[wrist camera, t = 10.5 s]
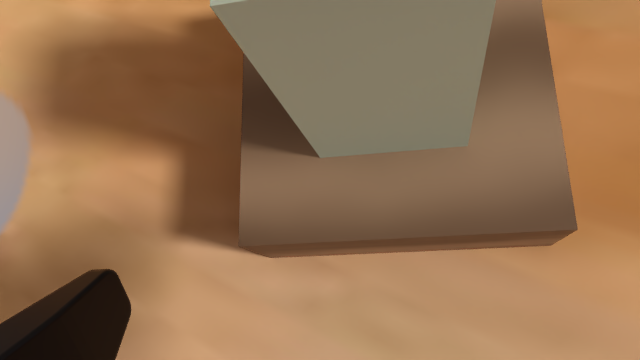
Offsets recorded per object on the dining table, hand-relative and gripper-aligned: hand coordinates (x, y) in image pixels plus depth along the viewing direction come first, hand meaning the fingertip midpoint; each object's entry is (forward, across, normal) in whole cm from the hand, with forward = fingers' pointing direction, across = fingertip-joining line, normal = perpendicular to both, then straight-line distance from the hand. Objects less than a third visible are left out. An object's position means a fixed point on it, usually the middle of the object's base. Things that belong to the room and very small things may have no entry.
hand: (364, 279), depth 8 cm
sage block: (+12, 0, +1) cm, 13 cm away
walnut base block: (+15, 0, +4) cm, 16 cm away
